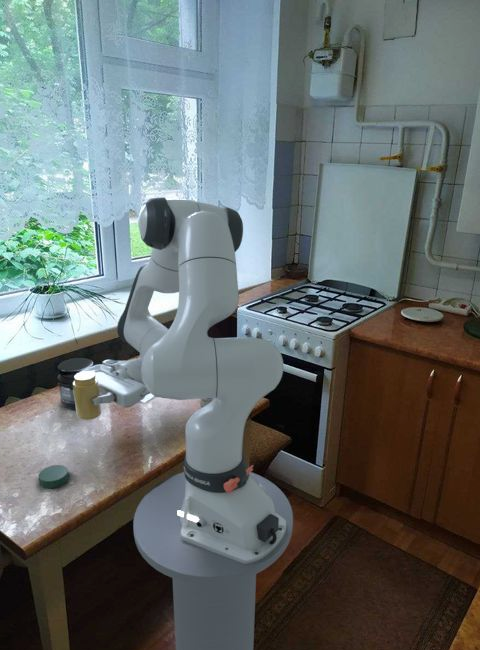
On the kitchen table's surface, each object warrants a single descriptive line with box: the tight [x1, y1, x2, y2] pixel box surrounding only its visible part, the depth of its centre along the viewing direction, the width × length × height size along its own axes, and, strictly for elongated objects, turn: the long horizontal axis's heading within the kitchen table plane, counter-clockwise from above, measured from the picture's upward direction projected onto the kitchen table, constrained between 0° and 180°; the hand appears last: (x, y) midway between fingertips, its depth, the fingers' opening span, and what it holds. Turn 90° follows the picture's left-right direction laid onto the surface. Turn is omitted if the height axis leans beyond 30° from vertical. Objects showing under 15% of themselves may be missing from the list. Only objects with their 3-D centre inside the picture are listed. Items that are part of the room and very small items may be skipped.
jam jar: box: [73, 372, 102, 421], centre depth 121 cm, size 6×6×11 cm
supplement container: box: [57, 357, 95, 410], centre depth 143 cm, size 10×10×12 cm
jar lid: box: [38, 464, 70, 489], centre depth 111 cm, size 6×6×2 cm
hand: (83, 397), depth 121 cm, fingers closed on jam jar, 6 cm apart
